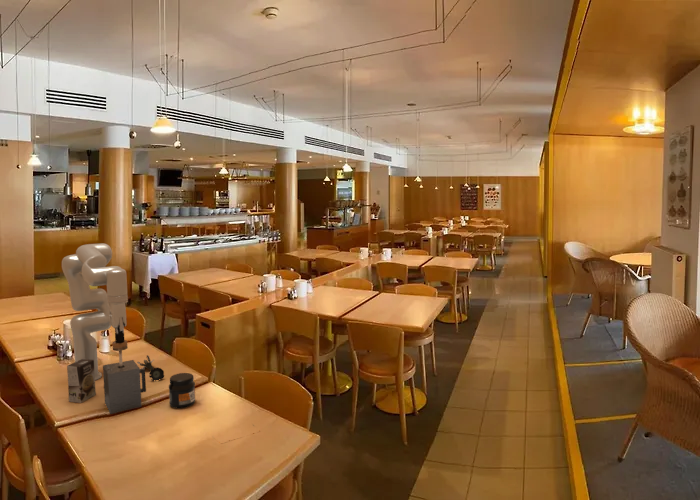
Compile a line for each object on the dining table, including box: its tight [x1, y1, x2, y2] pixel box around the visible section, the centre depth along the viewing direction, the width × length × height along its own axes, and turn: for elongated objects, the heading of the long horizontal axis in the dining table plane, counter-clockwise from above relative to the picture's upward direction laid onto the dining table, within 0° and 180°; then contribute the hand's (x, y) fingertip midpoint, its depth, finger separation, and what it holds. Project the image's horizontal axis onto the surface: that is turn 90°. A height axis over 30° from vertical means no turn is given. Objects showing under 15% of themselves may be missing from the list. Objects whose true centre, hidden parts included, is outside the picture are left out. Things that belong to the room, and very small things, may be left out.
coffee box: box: [66, 359, 96, 404], centre depth 215 cm, size 9×6×16 cm
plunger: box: [111, 339, 128, 368], centre depth 207 cm, size 10×10×18 cm
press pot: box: [102, 359, 147, 415], centre depth 209 cm, size 12×15×17 cm
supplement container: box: [168, 372, 196, 409], centre depth 210 cm, size 10×10×12 cm
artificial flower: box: [136, 355, 165, 382], centre depth 244 cm, size 9×22×10 cm, turn 30°
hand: (120, 342), depth 206 cm, fingers closed
